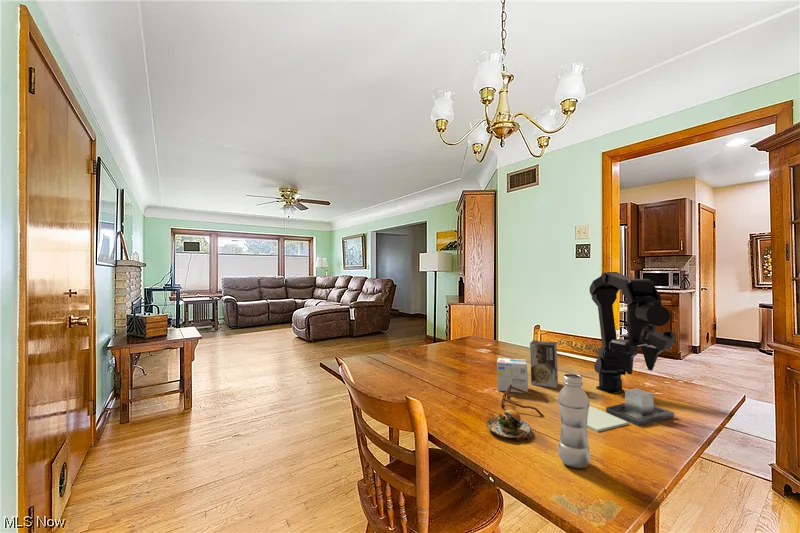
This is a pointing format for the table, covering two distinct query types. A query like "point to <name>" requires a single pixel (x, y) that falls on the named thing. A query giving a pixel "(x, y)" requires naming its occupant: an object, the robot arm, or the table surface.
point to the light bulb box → (512, 374)
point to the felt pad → (602, 420)
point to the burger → (510, 426)
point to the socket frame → (659, 416)
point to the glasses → (519, 404)
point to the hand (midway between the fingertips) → (640, 372)
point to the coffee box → (544, 363)
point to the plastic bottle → (573, 423)
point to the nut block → (638, 403)
